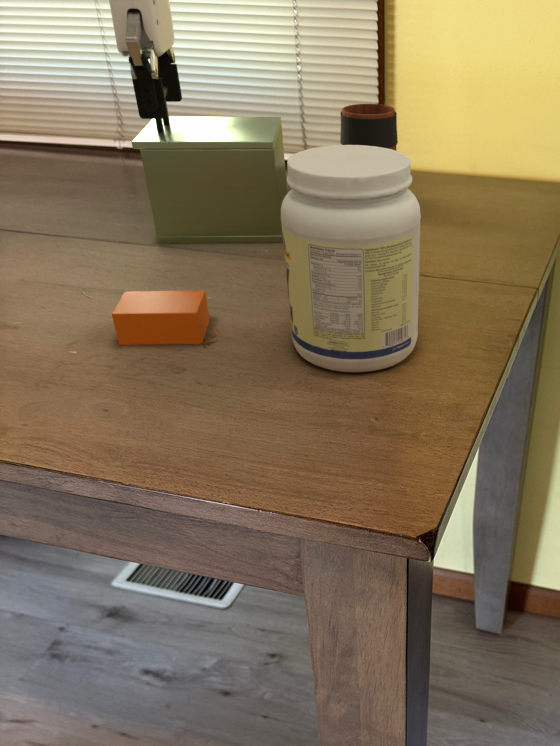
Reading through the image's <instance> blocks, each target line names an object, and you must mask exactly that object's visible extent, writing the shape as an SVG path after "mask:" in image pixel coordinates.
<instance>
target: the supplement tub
mask: <svg viewBox="0 0 560 746" xmlns="http://www.w3.org/2000/svg"><path fill="white" fill-rule="evenodd" d="M286 166H287V175H286V183H287V186H288V187H289V188H290V190H289V191H287V195H286V196H285V198H284V200H283V203H282V206H281V222H282V233H283V240H282V244H283V253H284V264H285V273H286V284H287V285H286V286H287V295H288V303H289V305H288V307H289V318H290V326H291V327H290V328H291V340H292V343H293V345H294V348H295V350H296V352H298V354H299V355H300V356H301V358H303V359H304V360H305V361H307V362H309V363H311V364H313V365H314V366H317V367H320V368H322V369H326V370H330V371H335V372H342V373H368V372H374V371H380V370H384V369H388V368H390V367H393V366H395V365H397V364H399V363H401V362H402V361H404V360H405V359H406V358H408V357H409V355H411V353H412V352H413V350H414V349H415V347H416V345H417V341H418V336H419V300H420V299H419V296H420V295H419V294H420V256H421V252H420V251H421V219H422V214H421V206H420V203H419V201H418V198H417V197H416V195H415V194H414V192H413V191H411V189H409V187H410V186H411V185H412V183H413V176H412V174H411V159H410V157H409V156H408V155H407V154H406V153H403V152H400V151H398V150H396V151H395V150H392V149H387V148H382V147H376V146H365V145H342V144H335V145H324V146H317V147H311V148H307V149H303V150H300V151H298V152H295V153H293V154H292V155H290V156H289V157H288V158H287V162H286Z"/></svg>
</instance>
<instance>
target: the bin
mask: <svg viewBox="0 0 560 746" xmlns="http://www.w3.org/2000/svg"><path fill="white" fill-rule="evenodd" d="M282 126H283V125H282V124H281V126H280V129H279V132H278V135H277V139H276V142H275V145H274V148H273V149H139V151H140V157H141V162H142V167H143V173H144V177H145V182H146V188H147V193H148V199H149V202H150V208H151V213H152V218H153V224H154V228H155V229H154V230H155V233H156V239H157V243H158V244H219V243H220V244H222V243H223V244H228V243H229V244H234V243H236V244H238V243H242V244H243V243H248V244H249V243H250V244H251V243H283V233H282V222H281V206H282V203H283V200H284V198H285V196H286V195H287V194H288V184H287V172H286V162H285V150H284V138H283V127H282Z"/></svg>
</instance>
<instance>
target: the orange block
mask: <svg viewBox="0 0 560 746" xmlns="http://www.w3.org/2000/svg"><path fill="white" fill-rule="evenodd" d="M111 317H112V322H113V326H114V329H115V334H116V337H117V342H118V345H119V346H144V345H145V346H146V345H147V346H149V345H151V346H152V345H202V344H203V342H204V339H205V337H206V333H207V330H208V328H209V325H210V322H211V317H210V313H209V306H208V300H207V294H206V290H138V291H137V290H133V291H127V290H125V291H124V292H123V294H122V295H121V297H120V299H119V301H118V302H117V304H116V306H115V307H114V309H113V311H112V312H111Z"/></svg>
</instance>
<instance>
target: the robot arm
mask: <svg viewBox="0 0 560 746" xmlns="http://www.w3.org/2000/svg"><path fill="white" fill-rule="evenodd" d="M108 2H109V8H110V14H111V20H112V24H113V25H112V27H113V31H114V37H115V43H116V49H117V51H118V53H119V54H120V55H121V56H122V57H123V58H124V57H128V59H127V60H128V64H129V66H130V67H129V68H130V77H131V82H132V86H133V91H134V96H135V102H136V106H137V112H138V115H139V118H141V119H142V120H152V119H165V118H167V116H168V114H169V111H168V112H167V108H168V106H167V107H166V102H167V103H170V102H171V103H173V102H174V103H177V102H181V101H182V99H183V94H182V89H181V83H180V76H179V71H178V64H177V63H176V56H175V52H174V49H173V46H174V44H175V32H174V24H173V17H172V16H173V15H172V10H171V5H170V0H108ZM162 82H163V83H165V84H166V85H167V87H168V94H167V96H166V101H165V95H164V90H163V84H162Z"/></svg>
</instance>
